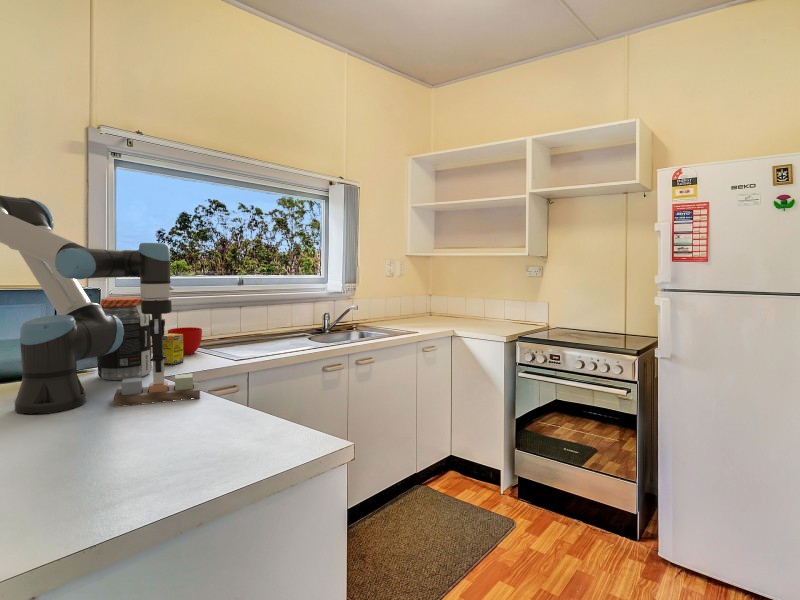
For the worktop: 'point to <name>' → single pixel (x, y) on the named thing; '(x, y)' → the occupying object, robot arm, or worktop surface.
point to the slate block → (131, 386)
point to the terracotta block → (158, 387)
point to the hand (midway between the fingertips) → (159, 382)
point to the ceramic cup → (189, 338)
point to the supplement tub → (127, 341)
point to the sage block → (183, 382)
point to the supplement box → (173, 349)
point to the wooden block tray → (156, 395)
